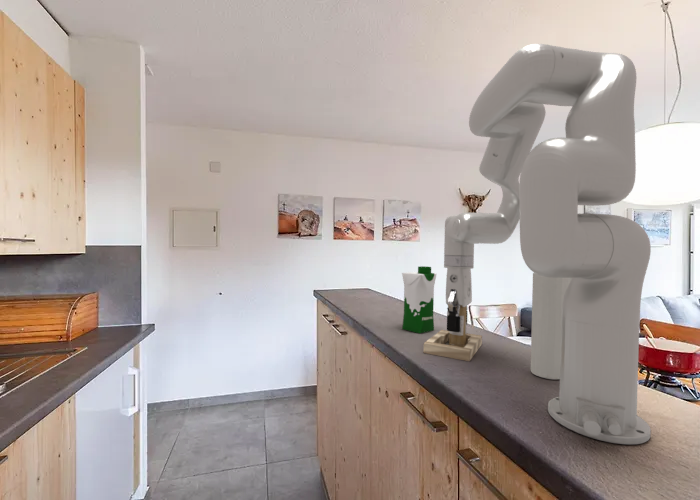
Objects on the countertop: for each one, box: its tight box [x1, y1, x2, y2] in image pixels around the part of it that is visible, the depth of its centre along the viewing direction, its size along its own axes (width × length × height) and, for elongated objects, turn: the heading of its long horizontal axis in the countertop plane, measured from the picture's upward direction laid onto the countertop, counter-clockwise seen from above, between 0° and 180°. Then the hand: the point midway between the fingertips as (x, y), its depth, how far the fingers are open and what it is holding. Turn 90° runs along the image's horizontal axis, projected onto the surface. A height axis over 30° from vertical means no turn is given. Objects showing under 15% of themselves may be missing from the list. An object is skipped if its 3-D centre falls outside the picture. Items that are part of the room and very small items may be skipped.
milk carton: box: [401, 265, 437, 334], centre depth 106 cm, size 9×9×20 cm
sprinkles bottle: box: [448, 303, 468, 347], centre depth 90 cm, size 5×5×13 cm
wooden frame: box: [422, 329, 483, 362], centre depth 88 cm, size 16×11×2 cm
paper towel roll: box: [530, 272, 572, 380], centre depth 70 cm, size 7×6×21 cm
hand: (457, 327), depth 90 cm, fingers open, 8 cm apart
